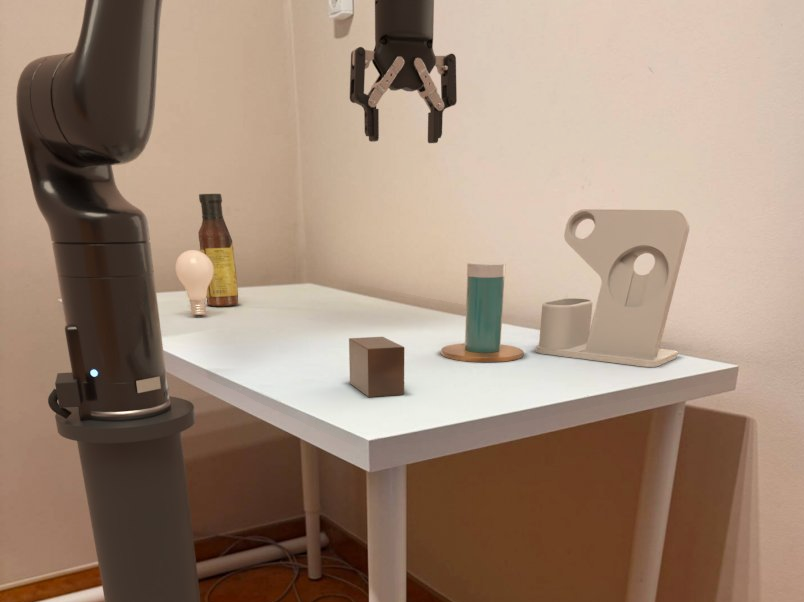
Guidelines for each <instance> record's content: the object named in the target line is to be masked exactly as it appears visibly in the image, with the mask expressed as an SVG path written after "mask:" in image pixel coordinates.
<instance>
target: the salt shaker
mask: <svg viewBox="0 0 804 602" xmlns="http://www.w3.org/2000/svg"><path fill="white" fill-rule="evenodd" d="M506 265H507V264H506V263H505V262H501V261H470V262H467V266H466V267H467V268H466V269H467V270H466V271H467V272H466V276H467V277H466V280H467V281H466V300H465V301H466V304H465V306H466V307H465V327H464V328H465V329H464V343H465V350H466V351H469V352H475V353H493V352H498V351H500V347H501V344H502V329H503V328H502V327H503V312H504V311H503V310H504V295H505V277H506Z"/></svg>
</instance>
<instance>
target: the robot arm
mask: <svg viewBox="0 0 804 602" xmlns="http://www.w3.org/2000/svg"><path fill="white" fill-rule="evenodd" d="M162 8H163V0H85V4H84V10H83V17H82V22H81V27H80V32H79V37H78V40H77V42H76V43H77V45H76V47H75V48H74V51H71V52H65V53H58V54H52V55H45V56H42V57H39V58H36V59H34V60H31V61H30V62H29V63H28V64H27V65H26V66H25V67H24V68H23V69H22V71H21V73H20V75H19V78H18V81H17V86H16V98H15V101H16V102H15V103H16V104H15V105H16V115H17V116H16V117H17V122H18V128H19V133H20V138H21V143H22V147H23V151H24V156H25V160H26V166H27V168H28V169H27V170H28V174H29V178H30V182H31V187H32V192H33V197H34V200H35V203H36V205H37V208H38V210H39V212H40V213H41V214H40V215H42V217H43V219H44V220H45V222H46V225H47V227H48V229H49V235H50V241H51V247H52V251H53V258H54V264H55V269H56V275H57V281H58V287H59V293H60V299H61V305H62V311H63V317H64V323H65V324H64V325H65V326H64V333H65V339H66V344H67V345H66V347H67V351H68V357H69V362H70V368H71V369H70V370H71V372H57V374H56V378H55V382H54V385H55V388H53V390H52V391H51V393H49V395H48V398H47V402H48V407H49V408H50V409H51V410H52V412H54V413H55V414H56V413H57V414H59V415H60V416H62V417H64V418H65V419H67V418H68V417H69V416H70V414H71V412H70V411H69V410H67V409H65V408H67V407H78V410H79V416H80V420H82V421H84V420H98V421H129V420H138V419H144V418H150V417H154V416H158V415H160V414H163V413H165V412H167V411H169V410H170V409H171V403H170V397H169V396H170V395H169V394H170V391H169V386H168V378H167V371H166V362H165V354H164V346H163V337H162V327H161V321H160V312H159V303H158V295H157V287H156V280H155V279H156V278H155V271H154V263H153V262H154V261H153V255H152V247H151V241H150V240H151V238H150V237H151V236H150V230H149V223H148V218H147V216H146V214H145V212H144V211H143V210H142V209H140V208H138V207H137V206H135V205H134V204H132V203H131V202H129V201H128V200H127V199H126V198H125V197H124V196H123V195H122V193H121V191H120V190H119V188H118V187H117V183H116V179H115V175H114V169H113V166H119V165H120V166H122V165H126V164H128V163H131V162H133V161H135V160H137V158H139V156H141V155H142V153H143V152H144V151H145V149H146V148H147V145H148V143H149V142H150V141H149V140H150V139H151V134H152V131H153V126H154V119H155V107H156V95H157V76H158V57H159V56H158V55H159V43H160V42H159V41H160V25H161V17H162V16H161V15H162ZM434 14H435V0H374V43H375V44H374V49H373V50H368V49H365V48H364V47H362V46H358V47H356V48H354V49H353V50H352V51H351V53H350V70H349V71H350V72H349V73H350V74H349V101H350V102H351V103H353V104H357V105H359V106H361V107H362V108H363V112H364V113H363V115H364V116H363V117H364V118H363V119H364V122H363V123H364V134H365V137H368V141H369V142H370V143H371V142H373V143H374V142H379V139H380V137H379V136H380V135H379V134H380V131H379V130H380V127H379V125H380V119H379V117H380V116H379V114H380V113H379V112H380V111H379V108H377V105H378V103H379V102H380V101H381V99H382V97H383V96H384V95H385V93H386V92H387V91H388V89H389V90H390V91H395V92H396V91H400V90H402V91H405V92H416V91H417V93H418V95H419V96H420V98H422V100H423V101H424V102H425V104H426V106H427V108H428V109H429V111H430V112H427V143H428V144H436V143H437V144H438V142H439V139H441V138H442V136H443V117H444V116H443V114H444V111H445V109H448V108H450V107H454V106H456V104H457V101H458V100H457V97H458V95H457V57H456V55H455V53H448V54H446V55H436V54H435V51H434V47H433V46H434V23H435V22H434V21H435V18H434V17H435V15H434ZM370 63H372V64H373V66H374V68H375V69H376V71H377V73H378V76H377V78H376V79H375V81H374V82H373V83H372V85H371V87H370V90H369V92H368V93H365V78H366V77H365V75H366V69H368V68H369V67H370ZM434 68H436V70H437V73H438V75H440V94H439V92H438V88H437V85H436V84H435V82H434V80H433V78H432V76H431V75H430V74H431V72H432V71H433V69H434ZM440 95H441V96H440Z"/></svg>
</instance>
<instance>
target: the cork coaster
mask: <svg viewBox="0 0 804 602" xmlns="http://www.w3.org/2000/svg"><path fill="white" fill-rule="evenodd" d="M440 351H441V352H440V353H441V355H442V356H443V357H445V358H447V359H451V360H456V361H461V362H472V363H501V362H502V363H503V362H510V361H516V360H520V359H521V358H523V357H524V350H523V349H522V348H521V347H517V346H514V345H508V344H502V343H501V347H500V351H498V352H493V353H475V352H469V351H466V350H465V342H463V343H455V344H449V345H446V346H443V347H441V350H440Z"/></svg>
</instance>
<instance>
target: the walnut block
mask: <svg viewBox="0 0 804 602" xmlns="http://www.w3.org/2000/svg"><path fill="white" fill-rule="evenodd" d="M348 352H349V353H348V355H349V356H348V359H349V360H348V361H349V362H348V363H349V384H350V385H352V387H354V388H356V389H357V390H358V391H359V392H361V393H362V394H364V395H365V396H366V397H368V398H376V397H378V398H379V397H390V396H404V395H405V346H403V345H401V344H399V343H397V342H395V341H393V340H390V339H388V338H387V337H385V336H369V337H351V338H348Z"/></svg>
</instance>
